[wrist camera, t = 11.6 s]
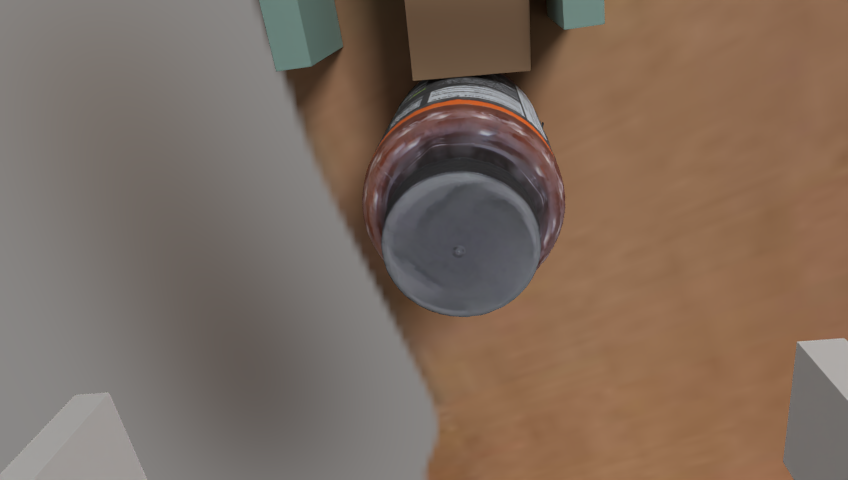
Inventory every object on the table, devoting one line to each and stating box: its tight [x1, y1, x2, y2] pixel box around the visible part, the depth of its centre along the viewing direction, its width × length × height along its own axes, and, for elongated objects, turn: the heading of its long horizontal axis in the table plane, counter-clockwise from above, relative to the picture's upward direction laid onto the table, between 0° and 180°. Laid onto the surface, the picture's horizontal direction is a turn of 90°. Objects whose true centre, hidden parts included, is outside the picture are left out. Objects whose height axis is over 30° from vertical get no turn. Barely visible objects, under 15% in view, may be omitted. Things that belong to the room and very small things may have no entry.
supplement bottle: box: [362, 73, 565, 317], centre depth 20 cm, size 6×6×11 cm
